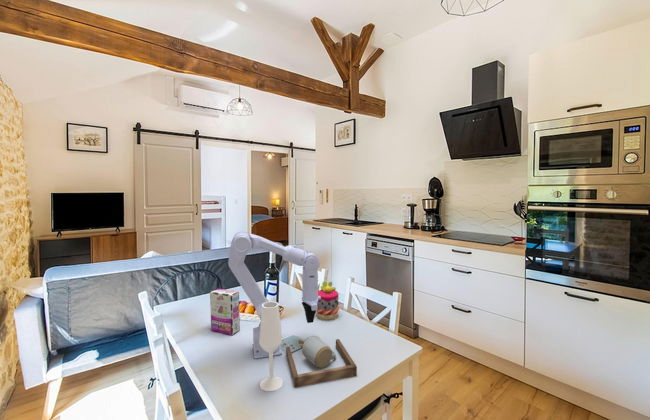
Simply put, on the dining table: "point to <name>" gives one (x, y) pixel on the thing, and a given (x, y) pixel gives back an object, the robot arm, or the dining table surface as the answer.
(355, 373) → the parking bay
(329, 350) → the ceramic mug
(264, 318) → the champagne flute
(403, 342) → the dining table surface
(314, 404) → the dining table surface
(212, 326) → the candy bar box
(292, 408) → the dining table surface
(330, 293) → the cake
